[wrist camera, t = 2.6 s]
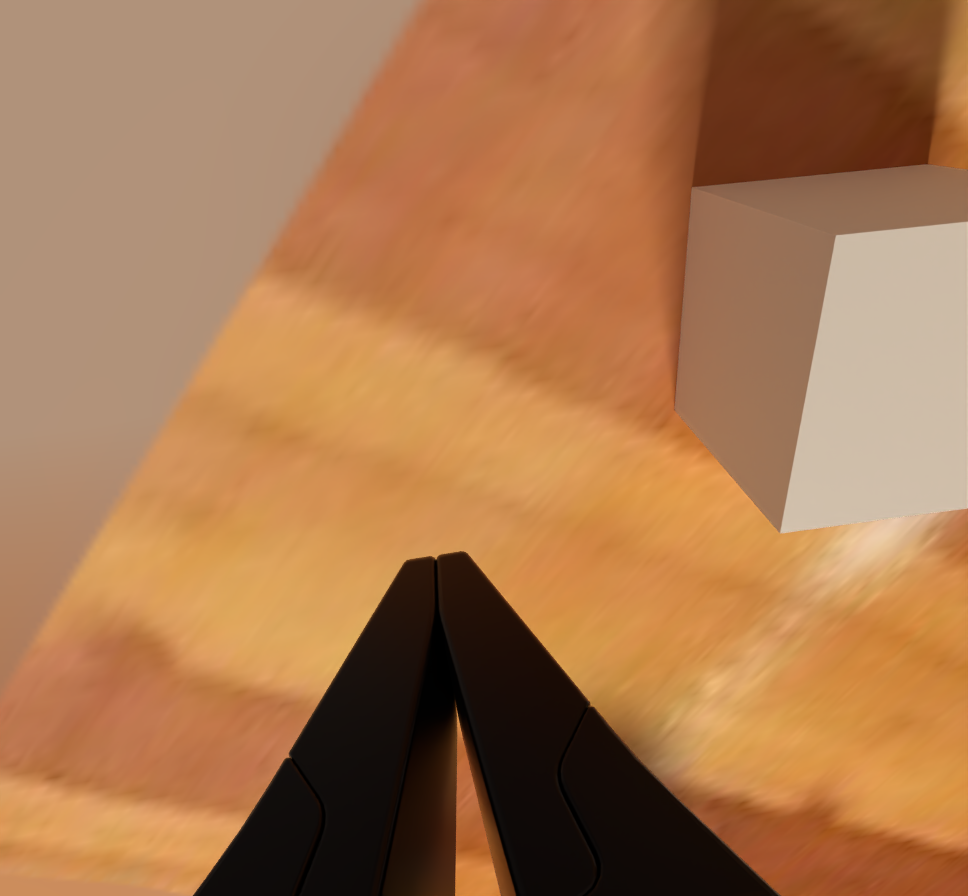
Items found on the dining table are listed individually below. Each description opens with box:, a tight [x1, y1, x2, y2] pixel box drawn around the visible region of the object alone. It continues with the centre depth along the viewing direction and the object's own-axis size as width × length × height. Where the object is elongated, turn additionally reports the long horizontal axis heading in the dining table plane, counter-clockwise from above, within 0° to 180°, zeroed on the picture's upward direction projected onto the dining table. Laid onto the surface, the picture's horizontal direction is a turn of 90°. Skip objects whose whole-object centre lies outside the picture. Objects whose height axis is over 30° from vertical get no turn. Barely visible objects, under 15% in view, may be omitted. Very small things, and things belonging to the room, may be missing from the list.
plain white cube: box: [674, 164, 968, 533], centre depth 15 cm, size 6×6×6 cm
